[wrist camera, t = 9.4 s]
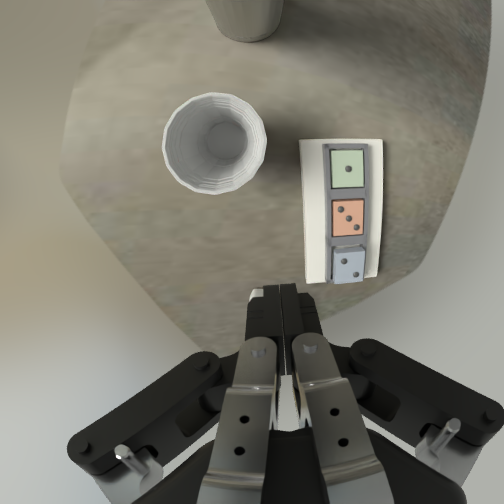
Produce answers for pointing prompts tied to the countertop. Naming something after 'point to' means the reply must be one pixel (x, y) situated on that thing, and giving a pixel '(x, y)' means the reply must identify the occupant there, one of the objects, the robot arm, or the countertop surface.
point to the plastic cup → (214, 143)
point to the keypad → (321, 193)
